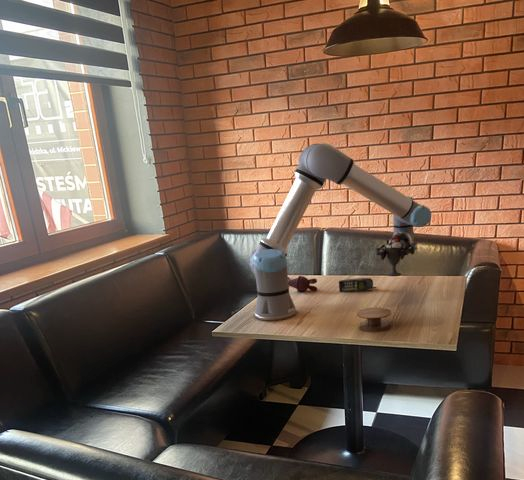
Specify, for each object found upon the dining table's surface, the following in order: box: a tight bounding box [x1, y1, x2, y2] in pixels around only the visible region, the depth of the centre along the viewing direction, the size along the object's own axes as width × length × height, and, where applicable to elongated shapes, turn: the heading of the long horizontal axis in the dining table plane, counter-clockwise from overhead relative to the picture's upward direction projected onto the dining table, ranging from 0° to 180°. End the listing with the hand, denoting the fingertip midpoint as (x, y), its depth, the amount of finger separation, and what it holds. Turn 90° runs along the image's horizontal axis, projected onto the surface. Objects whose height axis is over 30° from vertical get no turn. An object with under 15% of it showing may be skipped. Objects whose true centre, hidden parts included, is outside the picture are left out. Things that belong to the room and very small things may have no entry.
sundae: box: [384, 232, 404, 277], centre depth 187 cm, size 7×7×15 cm
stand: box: [356, 307, 392, 333], centre depth 174 cm, size 11×11×5 cm
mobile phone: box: [338, 277, 377, 293], centre depth 219 cm, size 5×3×15 cm
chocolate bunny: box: [288, 275, 318, 293], centre depth 227 cm, size 7×7×15 cm
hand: (392, 255), depth 182 cm, fingers closed on sundae, 6 cm apart
